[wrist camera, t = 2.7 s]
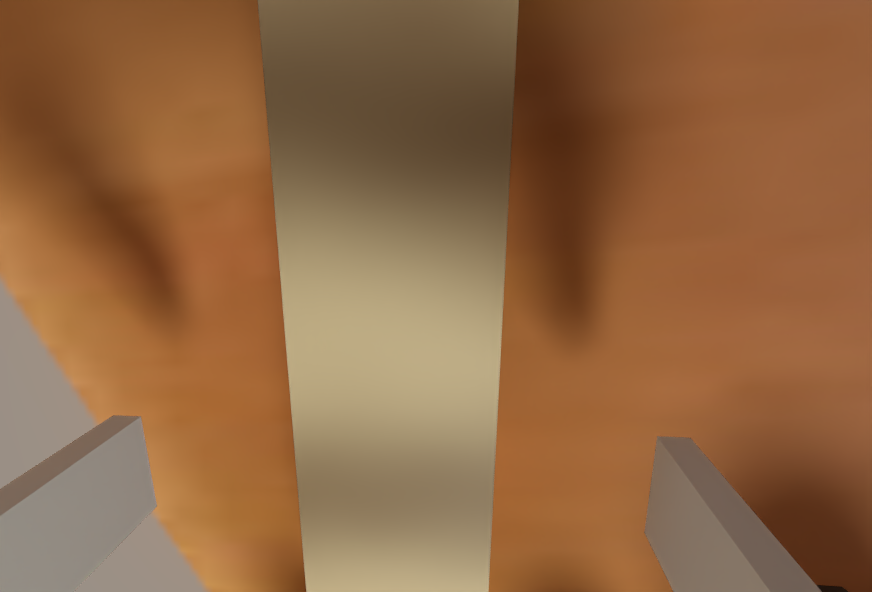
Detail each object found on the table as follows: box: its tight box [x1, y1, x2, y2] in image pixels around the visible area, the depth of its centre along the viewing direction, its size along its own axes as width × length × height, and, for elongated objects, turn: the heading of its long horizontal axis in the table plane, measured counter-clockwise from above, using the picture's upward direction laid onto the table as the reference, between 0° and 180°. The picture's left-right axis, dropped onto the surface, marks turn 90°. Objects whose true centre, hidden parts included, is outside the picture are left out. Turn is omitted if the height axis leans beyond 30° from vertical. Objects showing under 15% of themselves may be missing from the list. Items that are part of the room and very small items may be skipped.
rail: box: [258, 0, 519, 592], centre depth 13 cm, size 20×4×6 cm, turn 179°
